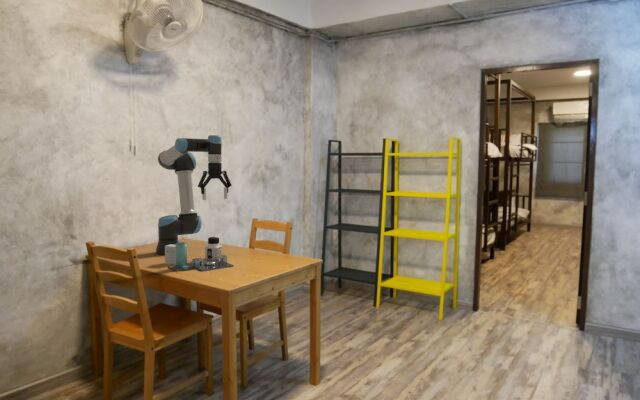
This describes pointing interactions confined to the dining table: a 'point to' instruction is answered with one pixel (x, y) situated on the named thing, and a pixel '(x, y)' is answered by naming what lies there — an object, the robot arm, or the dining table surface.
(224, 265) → the bayonet base
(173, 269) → the mat
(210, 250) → the container
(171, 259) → the small box
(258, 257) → the dining table surface
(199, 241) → the dining table surface
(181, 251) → the teal tall rounded piece
